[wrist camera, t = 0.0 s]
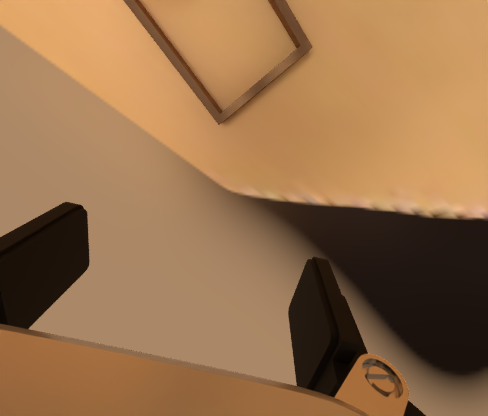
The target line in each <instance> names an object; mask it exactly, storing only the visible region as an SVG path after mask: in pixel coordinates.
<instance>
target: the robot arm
mask: <svg viewBox="0 0 488 416" xmlns="http://www.w3.org/2000/svg"><path fill="white" fill-rule="evenodd" d="M87 221H88V220H87V211H86V210H85V209H84V208H83V206H82V205H78V204H73V203H70V202H65V203H62V204H61V205H59V206H57V207H55V208H53V209H51V210H50V211H48V212H46V213H44V214H42V215H40V216H39V217H37V218H35V219H33V220H31V221H29V222H28V223H26V224H24V225H22V226H20V227H18V228H17V229H15V230H13V231H11V232H9V233H7V234H6V235H4V236H2V237H0V416H426V415H424V414H423V413H422V412H421V411H420V410H419V409H418V408H416V407H415V406H414V405H413V404H412V403H411V402H409V400H408V399H409V390H408V386H407V383H406V382H405V380H404V378H403V376H402V375H401V374H400V373H399V371H398V370H397V369H396V368H395V367H394V366H393V365H391V364H390V363H389V362H388V361H386V360H384V359H383V358H381V357H379V356H376V355H373V354H368V352H367V350H366V347H365V345H364V343H363V340H362V338H361V335H360V333H359V330H358V328H357V325H356V323H355V320H354V318H353V316H352V313H351V311H350V308H349V306H348V303H347V301H346V299H345V297H344V296H343V295H342V294H341V292H340V289H339V287H338V284H337V281H336V279H335V276H334V274H333V271H332V269H331V266H330V264H329V261H328V260H326V259H322V258H317V257H313V258H312V260H311V259H308V260H307V262H306V265H305V267H304V270H303V273H302V275H301V278H300V280H299V283H298V285H297V288H296V290H295V293H294V296H293V298H292V301H291V303H290V306H289V313H288V314H289V323H290V332H291V340H292V348H293V357H294V365H295V374H296V382H297V386H294V385H290V384H285V383H281V382H276V381H272V380H268V379H264V378H260V377H255V376H251V375H246V374H241V373H237V372H232V371H227V370H223V369H218V368H213V367H209V366H204V365H199V364H195V363H190V362H185V361H181V360H176V359H171V358H166V357H161V356H157V355H152V354H147V353H142V352H137V351H132V350H128V349H123V348H118V347H113V346H108V345H103V344H99V343H94V342H89V341H84V340H79V339H74V338H69V337H64V336H59V335H54V334H49V333H44V332H39V331H34V330H29V329H28V328H29V327H30V326H31V325H32V324H33V323H34V322H35V321H36V320H37V319H38V318H39V317H40V316H41V315H42V314H43V313H44V312H45V311H46V310H47V309H48V308H49V307H50V306H51V305H52V304H53V303H54V302H55V301H56V300H57V299H58V298H59V297H60V296H61V295H62V294H63V293H64V292H65V291H66V290H67V289H68V288H69V287H70V286H71V285H72V284H73V283H74V282H75V281H76V280H77V279H78V278H79V277H80V276H81V275H82V274H83V273H84V272H85V271H86V270H87V268H88V266H89V245H88V244H89V243H88V224H87V223H88V222H87Z"/></svg>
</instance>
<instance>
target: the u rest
mask: <svg viewBox="0 0 488 416" xmlns="http://www.w3.org/2000/svg"><path fill="white" fill-rule="evenodd" d="M124 1H125V3H126V4H127V5H128V7H129V8H130V9H131V11H132V12H133V13H134V14H135V16H136V17H137V18H138V20H139V21H140V22H141V24H142V25H143V26H144V28H145V29H146V30H147V31H148V33H149V34H150V35H151V37H152V38H153V39H154V41H155V42H156V43H157V45H158V46H159V47H160V48H161V50H162V51H163V52H164V54H165V55H166V56H167V58H168V59H169V60H170V62H171V63H172V64H173V65H174V67H175V68H176V69H177V71H178V72H179V73H180V75H181V76H182V77H183V79H184V80H185V81H186V82H187V84H188V85H189V86H190V88H191V89H192V90H193V92H194V93H195V94H196V96H197V97H198V98H199V99H200V101H201V102H202V103H203V105H204V106H205V107H206V109H207V110H208V111H209V113H210V114H211V115H212V116H213V118H214V119H215V120H216V122H217V123H218V124H221V123H222V122H223V121H225V120H226V119H227V118H228V117H229V116H231V115H232V114H233V113H234V112H235V111H237V110H238V109H239V108H240V107H241V106H243V105H244V104H245V103H246V102H247V101H249V100H250V99H251V98H252V97H254V96H255V95H256V94H257V93H258V92H260V91H261V90H262V89H263V88H264V87H266V86H267V85H268V84H269V83H270V82H272V81H273V80H274V79H275V78H276V77H278V76H279V75H280V74H281V73H282V72H284V71H285V70H286V69H287V68H288V67H290V66H291V65H292V64H293V63H294V62H296V61H297V60H298V59H299V58H300V57H302V56H303V55H304V54H305V53H306V52H308V51H309V50H310V49H311V48H312V46H311V44H310V42H309V40H308V39H307V37H306V35H305V33H304V32H303V30H302V28H301V27H300V25H299V23H298V21H297V20H296V18H295V16H294V14H293V13H292V11H291V9H290V8H289V6H288V4H287V2H286V1H285V0H269V2H270V4H271V5H272V7H273V9H274V10H275V12H276V14H277V15H278V17H279V19H280V20H281V22H282V24H283V25H284V27H285V29H286V30H287V32H288V34H289V35H290V37H291V39H292V41H293V42H294V44H295V46H296V47H297V49H296V50H295V51H294V52H293V53H291V54H290V55H289V56H288V57H287V58H286V59H284V60H283V61H282V62H281V63H280V64H278V65H277V66H276V67H275V68H274V69H273V70H271V71H270V72H269V73H268V74H267V75H265V76H264V77H263V78H262V79H261V80H260V81H258V82H257V83H256V84H255V85H254V86H252V87H251V88H250V89H249V90H248V91H247V92H245V93H244V94H243V95H242V96H241V97H240V98H238V99H237V100H236V101H235V102H234V103H232V104H231V105H230V106H229V107H228V108H227V109H225V110H224V111H223V112H222V111H221V109H220V108H219V107H218V105H217V104H216V103H215V101H214V100H213V99H212V97H211V96H210V95H209V93H208V92H207V91H206V89H205V88H204V87H203V85H202V84H201V83H200V81H199V80H198V79H197V77H196V76H195V75H194V73H193V72H192V71H191V69H190V68H189V67H188V65H187V64H186V63H185V61H184V60H183V59H182V57H181V56H180V55H179V53H178V52H177V51H176V49H175V48H174V47H173V45H172V44H171V43H170V41H169V40H168V39H167V37H166V36H165V35H164V33H163V32H162V31H161V29H160V28H159V27H158V25H157V24H156V23H155V21H154V20H153V19H152V17H151V16H150V15H149V13H148V12H147V11H146V9H145V8H144V7H143V5H142V4H141V3H140V1H139V0H124Z"/></svg>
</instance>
